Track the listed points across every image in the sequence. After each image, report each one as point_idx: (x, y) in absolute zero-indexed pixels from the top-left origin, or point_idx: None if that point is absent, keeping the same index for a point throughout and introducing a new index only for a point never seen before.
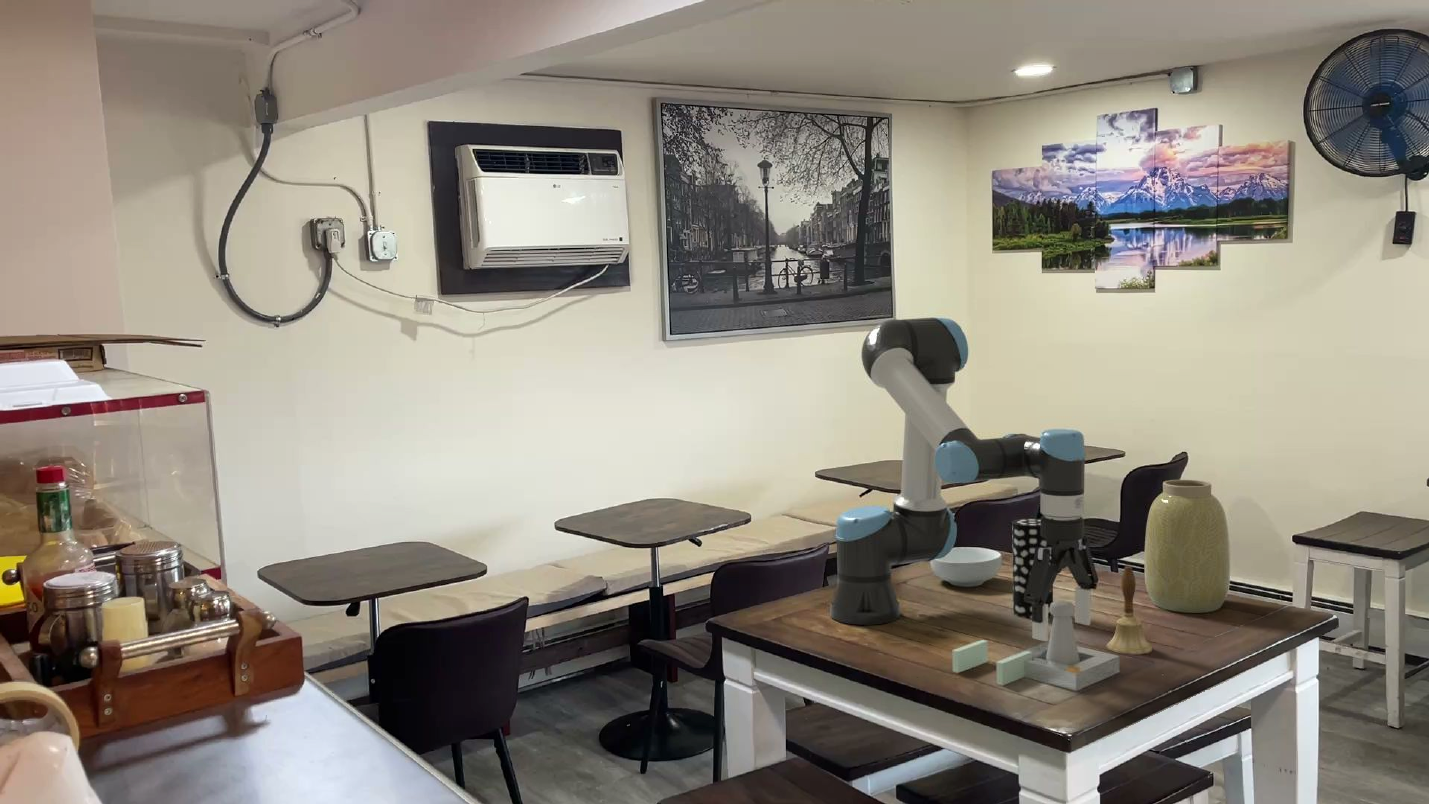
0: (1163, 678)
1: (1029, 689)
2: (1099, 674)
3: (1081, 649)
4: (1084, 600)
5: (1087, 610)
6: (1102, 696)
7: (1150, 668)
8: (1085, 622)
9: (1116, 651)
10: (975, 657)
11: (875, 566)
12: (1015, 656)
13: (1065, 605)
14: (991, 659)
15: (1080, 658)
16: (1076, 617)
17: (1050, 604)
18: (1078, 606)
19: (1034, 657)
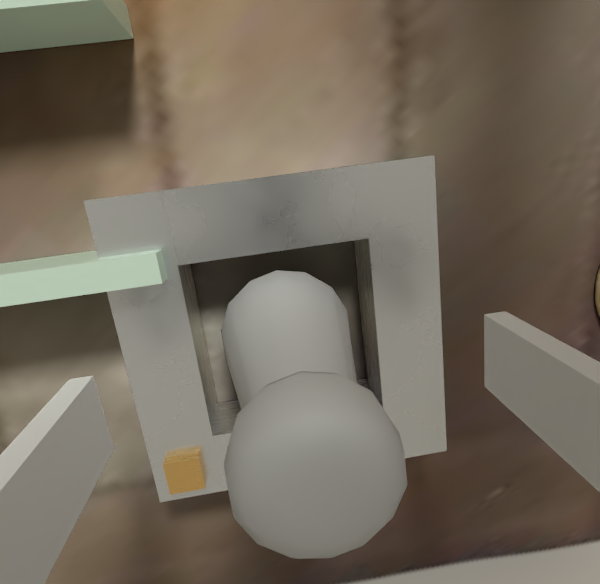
0: (466, 514)
1: (49, 371)
2: None
3: (413, 325)
4: (577, 446)
5: (532, 428)
6: (203, 526)
7: (521, 443)
8: (491, 377)
9: (598, 285)
10: (20, 34)
11: None
12: (48, 283)
13: (285, 552)
14: (173, 23)
15: (371, 339)
16: (498, 333)
17: (261, 425)
18: (543, 375)
19: (176, 284)
